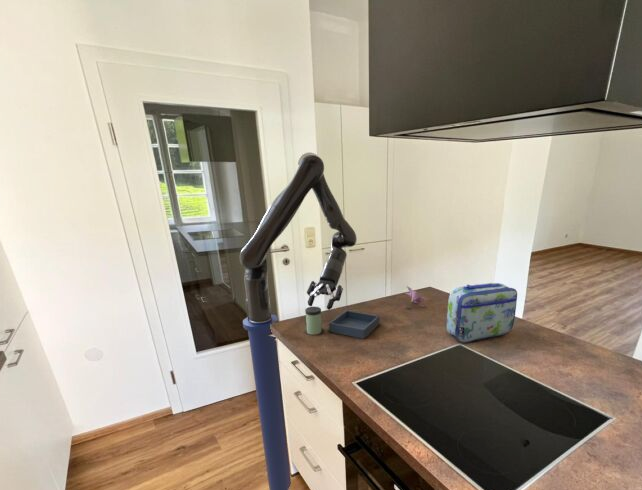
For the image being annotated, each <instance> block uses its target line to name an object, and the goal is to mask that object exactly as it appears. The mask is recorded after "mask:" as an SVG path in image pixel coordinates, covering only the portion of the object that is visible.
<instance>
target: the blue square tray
mask: <svg viewBox="0 0 642 490" xmlns="http://www.w3.org/2000/svg"><path fill="white" fill-rule="evenodd" d="M379 324H380V315H375V314H371V313H366V312H365V313H364V312H359V311H353V310H348V309H346V310H344V311H343V312H342V313H341V314H339V315H338V316H337V317H335V318H334V319H332V320H331V321H330V322H328V329H329V330H328V331H329V333H334V334H339V335H343V336H348V337H353V338H356V339H357V338H358V339H362V340H364V339H366V338H367V337H368V336H369V335H370V334H371V333H372V332H373V331H374V330H375V329H376V328H377V327H378V326H379Z"/></svg>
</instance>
